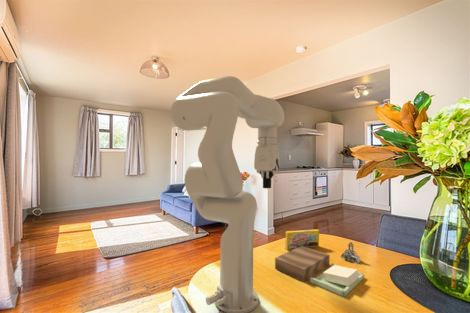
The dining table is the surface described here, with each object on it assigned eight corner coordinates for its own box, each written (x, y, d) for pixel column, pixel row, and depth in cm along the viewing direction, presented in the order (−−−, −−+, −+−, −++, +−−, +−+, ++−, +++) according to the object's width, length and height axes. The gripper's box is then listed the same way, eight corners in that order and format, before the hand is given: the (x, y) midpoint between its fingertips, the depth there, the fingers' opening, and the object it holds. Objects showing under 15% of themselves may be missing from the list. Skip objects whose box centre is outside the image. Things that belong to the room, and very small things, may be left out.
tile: (323, 272, 76) (324, 280, 75) (347, 277, 70) (349, 286, 69) (333, 265, 81) (335, 272, 81) (357, 269, 75) (358, 277, 75)
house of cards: (328, 259, 93) (328, 240, 93) (342, 255, 97) (342, 237, 97) (349, 269, 85) (349, 248, 85) (363, 263, 89) (363, 244, 89)
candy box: (287, 251, 101) (287, 232, 101) (285, 249, 103) (285, 231, 103) (319, 248, 105) (319, 230, 105) (316, 246, 107) (316, 228, 107)
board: (304, 281, 75) (304, 269, 75) (275, 268, 84) (275, 257, 84) (329, 265, 87) (329, 254, 87) (301, 255, 96) (301, 245, 96)
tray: (344, 297, 66) (344, 292, 67) (309, 282, 75) (309, 277, 75) (364, 278, 77) (364, 274, 77) (332, 267, 85) (332, 263, 85)
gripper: (247, 143, 95) (247, 187, 95) (276, 140, 84) (275, 190, 84) (259, 144, 100) (259, 185, 100) (288, 142, 89) (288, 189, 88)
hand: (267, 187), depth 92 cm, fingers closed
